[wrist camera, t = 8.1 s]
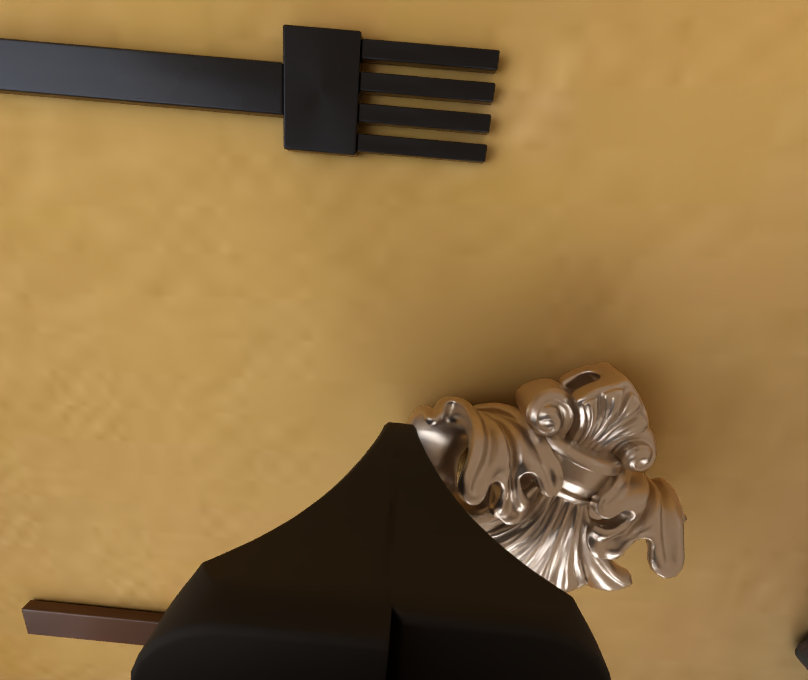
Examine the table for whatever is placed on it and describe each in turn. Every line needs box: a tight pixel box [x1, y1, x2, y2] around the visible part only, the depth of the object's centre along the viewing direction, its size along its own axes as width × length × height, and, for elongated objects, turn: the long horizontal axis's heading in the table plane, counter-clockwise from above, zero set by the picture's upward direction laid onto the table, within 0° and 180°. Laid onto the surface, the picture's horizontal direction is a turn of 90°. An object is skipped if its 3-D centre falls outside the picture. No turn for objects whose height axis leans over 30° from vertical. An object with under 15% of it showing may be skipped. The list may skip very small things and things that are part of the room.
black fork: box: [0, 25, 500, 163], centre depth 10 cm, size 15×3×1 cm, turn 85°
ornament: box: [407, 362, 687, 593], centre depth 11 cm, size 8×7×4 cm
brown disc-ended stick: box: [22, 600, 165, 645], centre depth 15 cm, size 15×4×1 cm, turn 85°
